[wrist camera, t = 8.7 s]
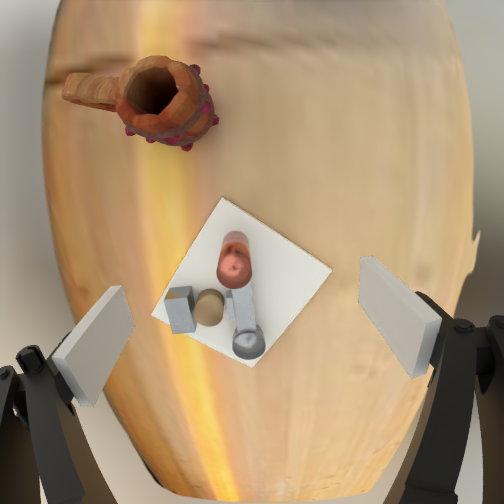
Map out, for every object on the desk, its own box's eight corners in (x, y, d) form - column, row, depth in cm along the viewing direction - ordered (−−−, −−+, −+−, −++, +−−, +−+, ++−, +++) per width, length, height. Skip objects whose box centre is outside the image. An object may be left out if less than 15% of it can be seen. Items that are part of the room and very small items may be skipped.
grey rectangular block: (169, 287, 36) (163, 299, 33) (191, 285, 36) (186, 297, 33) (177, 320, 38) (172, 333, 34) (198, 318, 38) (195, 332, 34)
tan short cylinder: (206, 283, 36) (202, 296, 33) (229, 297, 37) (228, 310, 33) (192, 303, 37) (188, 317, 34) (215, 316, 38) (213, 331, 34)
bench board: (222, 196, 34) (221, 198, 32) (329, 267, 38) (333, 272, 36) (153, 310, 38) (150, 317, 37) (251, 362, 42) (252, 370, 40)
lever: (265, 348, 39) (272, 401, 29) (234, 351, 39) (234, 404, 29) (253, 225, 33) (258, 253, 23) (215, 229, 33) (205, 258, 23)
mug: (230, 95, 30) (223, 48, 16) (211, 157, 33) (189, 152, 18) (123, 77, 28) (63, 40, 14) (105, 135, 31) (34, 127, 16)
